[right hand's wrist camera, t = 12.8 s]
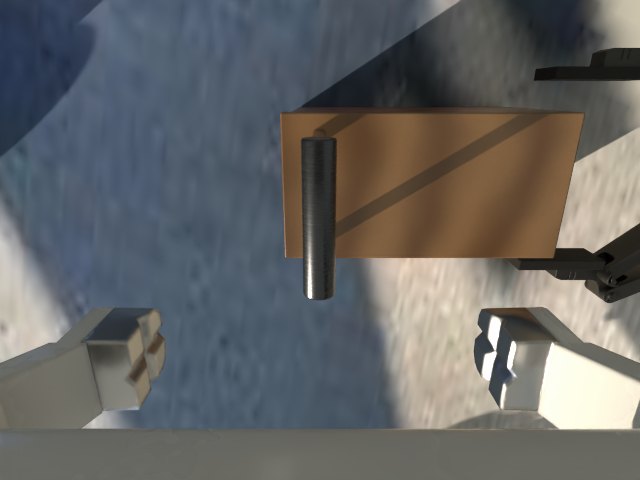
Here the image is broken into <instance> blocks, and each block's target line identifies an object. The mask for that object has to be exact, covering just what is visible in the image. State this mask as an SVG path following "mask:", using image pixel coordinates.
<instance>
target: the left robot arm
mask: <svg viewBox="0 0 640 480" xmlns="http://www.w3.org/2000/svg"><path fill="white" fill-rule="evenodd" d="M630 80H640V48H612V49H605V50H600V51H598V52H595V53H593V55H592V59H591V64H590V67H549V68H541V69H536V71H535V77H534V81H630ZM506 259H507V260H508V261H509V262H510V263H511V264H512V265H514V266H515V267H516V268H517V269H518V270H546V271H547V272H549V273H550V274H551V275H552V276H554V277H555V278H557V279H560V280H586V281H585V287H586V288H587V289H588V290H590V291H591V292H593V293H594V294H595V295H597V296H598V297H599V298H601V299H602V300H604V301H605V302H607V303H612V302H615V301H618V300H620V299H623V298H625V297H628V296H630V295H633V294H636V293H638V292H640V223H639V224H638V225H636V226H635V227H633V228H632V229H630V230H629V231H627V232H626V233H624V234H623V235H621V236H620V237H618V238H616V239H615V240H613V241H612V242H610V243H609V244H607V245H606V246H604V247H603V248H601V249H600V250H598V251H597V252H595V253H591V252H589V251H587V250H586V249H584V248H556V249H555V254H554V258H506Z"/></svg>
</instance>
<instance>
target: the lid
mask: <svg viewBox="0 0 640 480" xmlns="http://www.w3.org/2000/svg"><path fill="white" fill-rule="evenodd" d="M584 116H585V113H582V112H282V113H281V114H280V119H281V150H282V180H283V210H284V240H285V257H286V258H303V292H304V295H305V296H306V297H307V298H309V299H313V300H326V299H329V298H331V297H332V296H333V295H334V294H335V258H554V254H555V249H556V245H557V240H558V236H559V231H560V226H561V222H562V217H563V213H564V208H565V203H566V199H567V194H568V190H569V185H570V180H571V176H572V171H573V167H574V162H575V157H576V153H577V148H578V144H579V139H580V134H581V130H582V125H583V121H584Z"/></svg>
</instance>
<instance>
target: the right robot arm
mask: <svg viewBox="0 0 640 480" xmlns="http://www.w3.org/2000/svg"><path fill="white" fill-rule="evenodd" d="M161 325H162V319H161V314H160V312H159V310H158V309H157V308H116V307H102V308H93V309H92V310H91V311H90V312H89V313H88V314H87V315H86V316H85V317H84V318H82V319H81V320H80V321H79V322H78V323H77V324H76V325H75V326H74V327H73V328H72V329H71V330H69V331H68V332H67V333H66V334H65V335H64V336H63V337H62V338H61V339H60V340H59V341H58V342H57V343H48V344H45V345H43V346H41V347H38V348H36V349H33V350H31V351H29V352H26V353H24V354H21V355H19V356H16V357H14V358H12V359H9V360H7V361H4V362H2V363H0V480H640V363H638V362H636V361H633V360H631V359H628V358H626V357H623V356H621V355H619V354H616V353H614V352H611V351H609V350H607V349H604V348H602V347H599V346H597V345H595V344H592V343H583V342H582V341H581V340H580V339H579V338H578V337H577V336H576V335H575V334H574V333H573V332H572V331H571V330H570V329H568V328H567V327H566V326H565V325H564V324H563V323H562V322H561V321H560V320H559V319H558V318H557V317H556V316H554V315H553V314H552V313H551V312H550V311H549V310H548V309H546V308H543V307H531V308H487V309H482V310H481V312H480V314H479V319H478V325H479V327H480V328H481V330H482V331H483V332H482V333H481V334H480V335H479V336H478V337H477V338H476V339H475V345H474V358H475V364H476V367H477V370H478V371H479V373H480V375H481V377H483V378H484V379H486V380H487V381H489V382H490V384H489V391H490V393H491V394H492V396H493V398H494V399H495V401H496V403H497V405H498V406H499V408H500V410H529V411H538V413H539V414H540V415H542V416H543V417H544V418H546V419H547V420H548V421H550V422H551V423H552V424H554V425H555V426H556V427H558V428H559V429H81V428H82V427H84V426H85V425H86V424H88V423H89V422H90V421H92V420H93V419H94V418H96V417H97V416H98V415H100V414H101V413H102V411H111V410H140V408H141V406H142V405H143V403H144V401H145V400H146V398H147V396H148V394H149V393H150V391H151V384H150V382H151V381H153V380H154V379H156V378H157V377H159V375H160V373H161V371H162V370H163V367H164V363H165V359H166V344H165V339H164V338H163V337H162V336H161V335H160V334H159V333H158V332H157V331H158V330H159V328H160V327H161Z"/></svg>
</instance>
